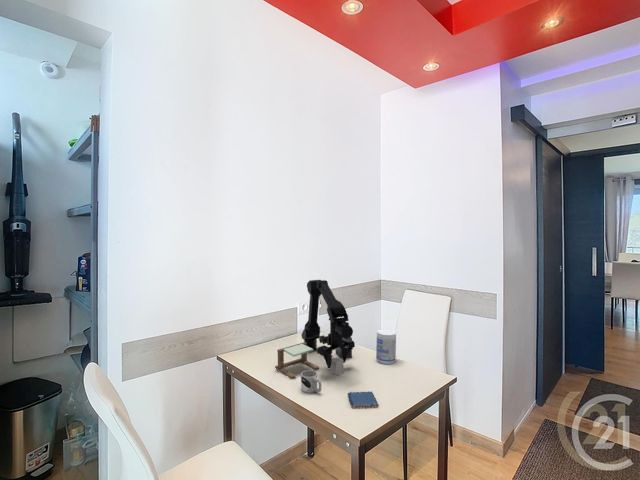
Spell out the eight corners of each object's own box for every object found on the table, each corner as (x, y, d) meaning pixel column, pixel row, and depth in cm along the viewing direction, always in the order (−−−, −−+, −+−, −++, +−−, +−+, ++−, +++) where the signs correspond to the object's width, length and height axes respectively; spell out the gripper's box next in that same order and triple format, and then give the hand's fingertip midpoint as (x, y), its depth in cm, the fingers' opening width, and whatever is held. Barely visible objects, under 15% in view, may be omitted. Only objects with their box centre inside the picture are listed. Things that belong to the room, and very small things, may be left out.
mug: (297, 389, 137) (297, 373, 137) (309, 383, 142) (309, 368, 141) (315, 398, 130) (315, 381, 130) (326, 391, 135) (326, 375, 135)
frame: (275, 368, 157) (274, 347, 156) (301, 360, 166) (301, 340, 166) (291, 379, 146) (291, 357, 145) (319, 369, 156) (319, 348, 155)
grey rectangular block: (336, 369, 156) (336, 357, 155) (343, 372, 152) (343, 360, 152) (329, 372, 153) (329, 359, 153) (336, 375, 149) (336, 362, 149)
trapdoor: (283, 350, 155) (283, 349, 155) (302, 345, 162) (301, 343, 162) (294, 356, 148) (294, 354, 148) (313, 350, 155) (313, 349, 155)
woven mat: (379, 409, 123) (379, 404, 123) (351, 410, 122) (351, 405, 122) (373, 395, 133) (373, 390, 133) (347, 396, 132) (347, 391, 132)
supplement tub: (374, 363, 163) (374, 333, 162) (378, 355, 172) (378, 328, 171) (394, 366, 159) (394, 335, 159) (397, 358, 168) (397, 330, 168)
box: (335, 354, 174) (335, 334, 174) (345, 352, 177) (345, 332, 176) (342, 359, 167) (342, 339, 167) (352, 357, 169) (352, 337, 169)
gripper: (339, 324, 164) (339, 355, 165) (309, 331, 152) (309, 365, 153) (355, 329, 155) (355, 362, 156) (325, 338, 143) (325, 373, 144)
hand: (336, 365), depth 152 cm, fingers open, 9 cm apart
